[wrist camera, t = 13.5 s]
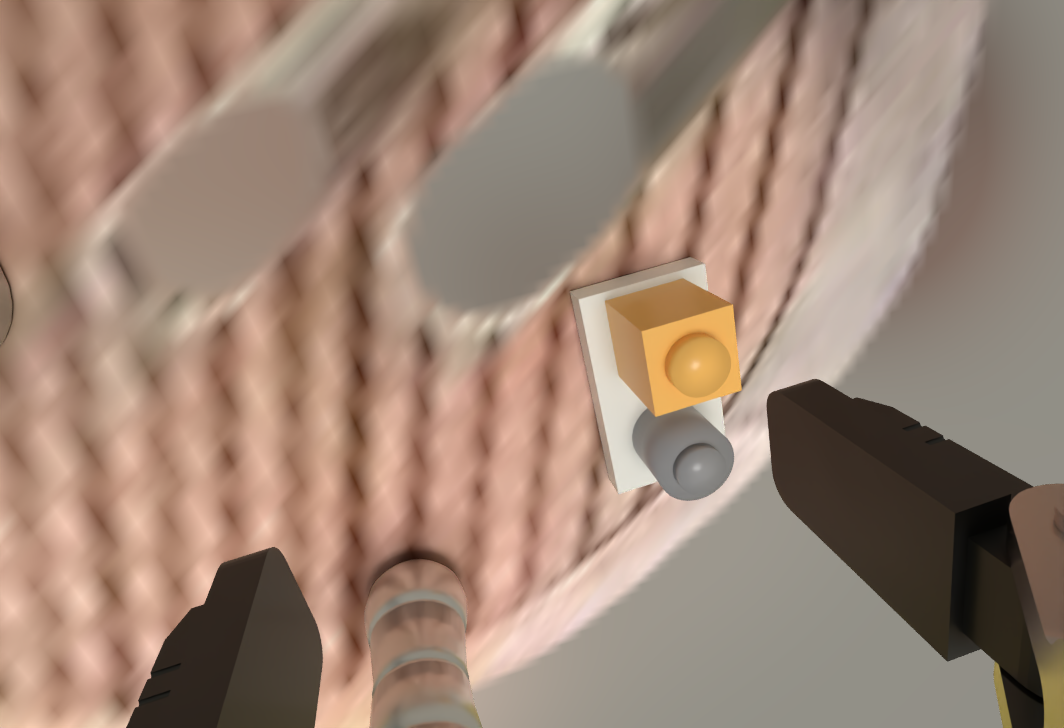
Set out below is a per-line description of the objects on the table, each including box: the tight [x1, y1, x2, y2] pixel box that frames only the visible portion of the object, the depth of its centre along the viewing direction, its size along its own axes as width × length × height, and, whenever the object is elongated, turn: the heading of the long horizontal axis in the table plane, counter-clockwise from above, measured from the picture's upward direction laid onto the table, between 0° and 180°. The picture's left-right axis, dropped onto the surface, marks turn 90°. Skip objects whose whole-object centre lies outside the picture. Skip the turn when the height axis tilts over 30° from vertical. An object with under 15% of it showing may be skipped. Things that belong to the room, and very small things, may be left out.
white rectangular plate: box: [570, 257, 726, 494], centre depth 41 cm, size 8×14×2 cm, turn 13°
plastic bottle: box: [364, 559, 482, 728], centre depth 35 cm, size 6×7×20 cm
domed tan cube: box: [605, 279, 742, 417], centre depth 35 cm, size 5×5×7 cm
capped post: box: [632, 406, 734, 501], centre depth 39 cm, size 5×5×5 cm
